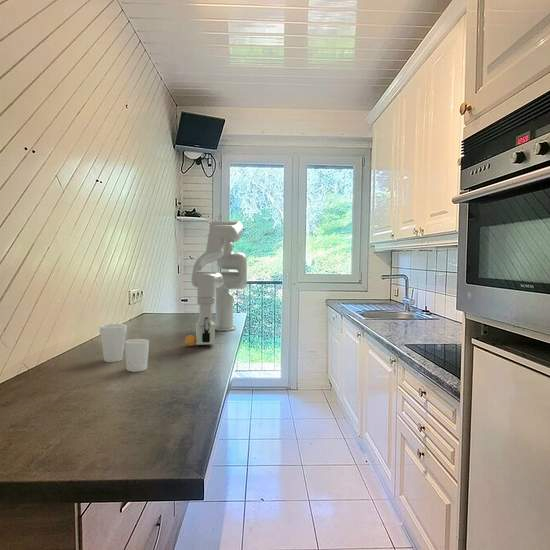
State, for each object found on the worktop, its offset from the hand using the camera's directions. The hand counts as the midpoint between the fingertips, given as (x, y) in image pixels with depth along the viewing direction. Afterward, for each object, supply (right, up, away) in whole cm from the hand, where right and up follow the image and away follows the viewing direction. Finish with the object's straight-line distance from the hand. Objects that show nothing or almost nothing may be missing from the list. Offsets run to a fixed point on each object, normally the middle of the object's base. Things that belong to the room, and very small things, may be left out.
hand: (205, 339), depth 176 cm
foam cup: (-30, -3, -26) cm, 40 cm away
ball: (-6, 0, -1) cm, 6 cm away
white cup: (-17, -4, -38) cm, 42 cm away
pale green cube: (0, -1, 0) cm, 1 cm away
